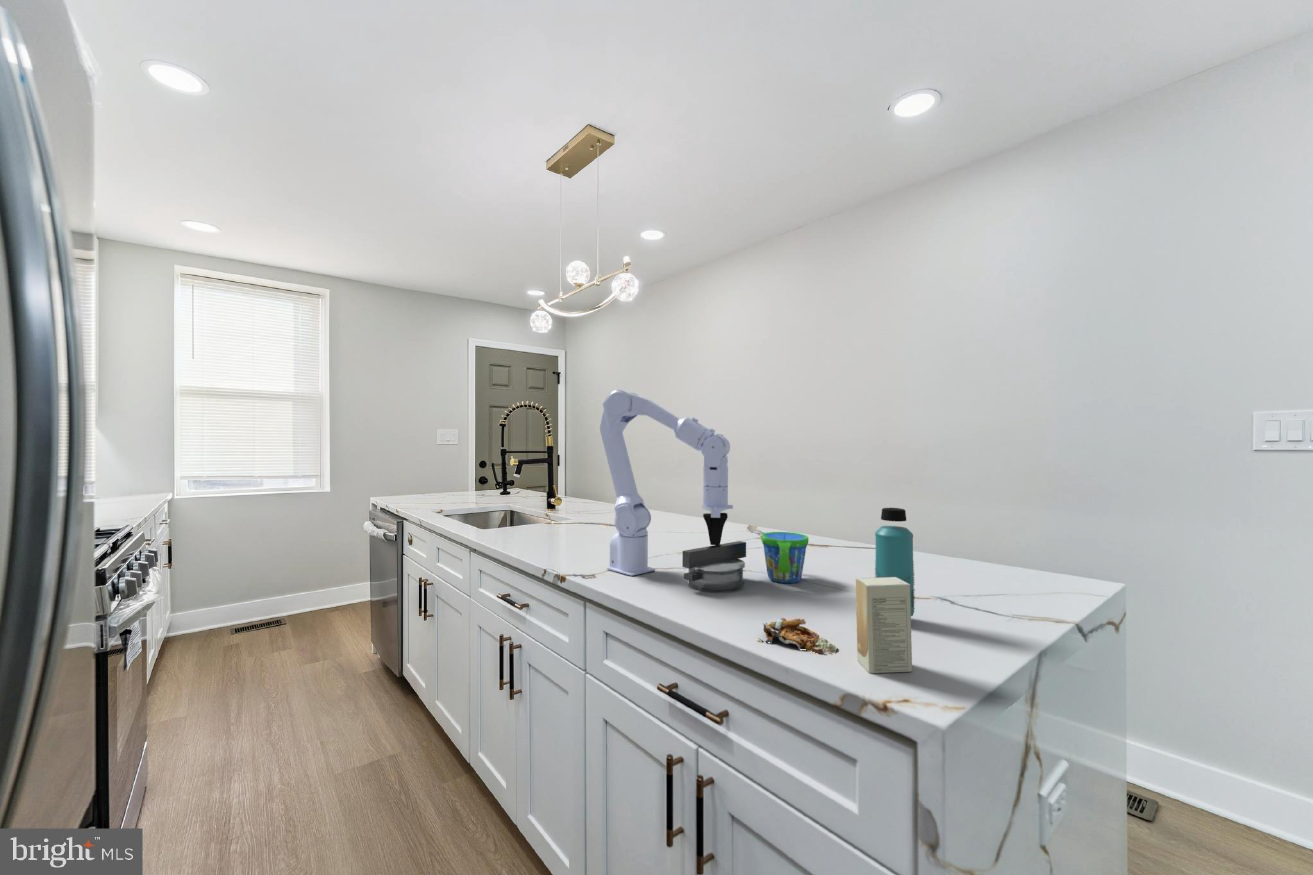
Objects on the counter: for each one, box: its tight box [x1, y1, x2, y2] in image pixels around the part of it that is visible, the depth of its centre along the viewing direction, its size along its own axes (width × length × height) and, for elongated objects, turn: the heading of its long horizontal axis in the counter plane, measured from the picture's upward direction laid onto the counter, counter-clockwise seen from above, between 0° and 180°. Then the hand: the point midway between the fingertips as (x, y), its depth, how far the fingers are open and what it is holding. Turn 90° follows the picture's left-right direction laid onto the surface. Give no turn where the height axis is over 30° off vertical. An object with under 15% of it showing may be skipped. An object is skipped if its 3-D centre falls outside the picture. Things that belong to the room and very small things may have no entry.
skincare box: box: [855, 577, 913, 674], centre depth 75 cm, size 6×4×12 cm
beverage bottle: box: [874, 507, 916, 617], centre depth 95 cm, size 6×7×20 cm
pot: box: [683, 561, 746, 593], centre depth 118 cm, size 18×12×4 cm, turn 134°
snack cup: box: [760, 531, 809, 584], centre depth 123 cm, size 16×10×10 cm
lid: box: [681, 540, 747, 572], centre depth 118 cm, size 18×13×4 cm
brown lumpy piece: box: [756, 617, 839, 655], centre depth 85 cm, size 7×12×4 cm, turn 58°
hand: (715, 544), depth 124 cm, fingers closed
